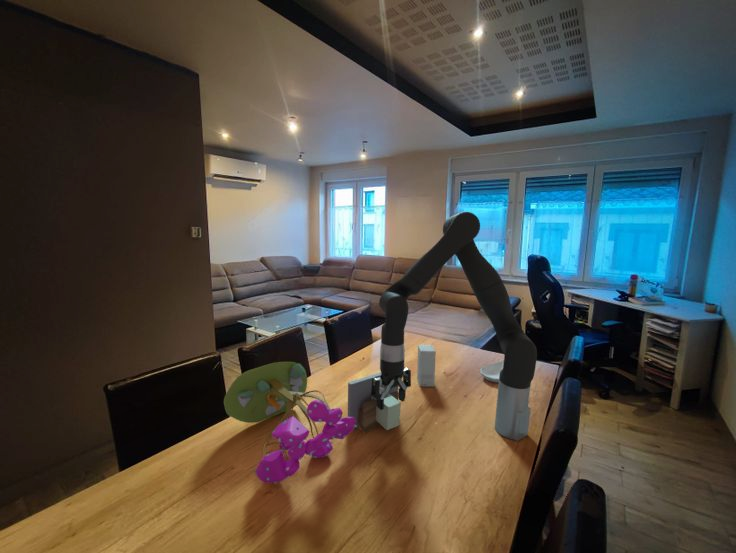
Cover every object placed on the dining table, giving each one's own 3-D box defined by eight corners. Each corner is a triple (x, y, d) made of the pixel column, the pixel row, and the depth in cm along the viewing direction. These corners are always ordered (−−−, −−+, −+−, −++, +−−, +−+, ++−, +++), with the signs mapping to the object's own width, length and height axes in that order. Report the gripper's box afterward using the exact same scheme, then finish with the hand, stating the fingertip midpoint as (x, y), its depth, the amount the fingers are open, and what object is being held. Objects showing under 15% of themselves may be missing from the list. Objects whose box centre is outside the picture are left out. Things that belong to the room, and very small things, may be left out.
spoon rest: (496, 388, 133) (497, 372, 132) (473, 377, 143) (475, 362, 142) (529, 376, 145) (531, 361, 144) (507, 366, 155) (508, 352, 154)
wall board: (397, 410, 115) (398, 369, 113) (350, 430, 104) (350, 384, 101) (394, 408, 117) (395, 367, 114) (347, 427, 105) (348, 382, 103)
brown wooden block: (397, 418, 111) (398, 392, 109) (364, 433, 103) (364, 405, 101) (390, 413, 114) (391, 388, 112) (357, 427, 106) (358, 399, 104)
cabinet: (399, 424, 103) (400, 402, 101) (387, 430, 100) (388, 407, 98) (382, 410, 110) (383, 389, 109) (370, 414, 107) (371, 393, 106)
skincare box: (434, 387, 133) (436, 351, 130) (418, 386, 133) (420, 351, 130) (431, 377, 141) (432, 344, 139) (416, 377, 141) (417, 343, 139)
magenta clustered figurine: (303, 330, 108) (360, 387, 82) (317, 393, 120) (371, 461, 93) (210, 371, 94) (242, 458, 67) (237, 439, 106) (273, 534, 79)
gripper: (381, 366, 92) (380, 417, 94) (417, 354, 100) (416, 402, 102) (366, 357, 98) (366, 406, 100) (401, 347, 106) (400, 392, 108)
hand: (391, 404), depth 101 cm, fingers open, 8 cm apart
